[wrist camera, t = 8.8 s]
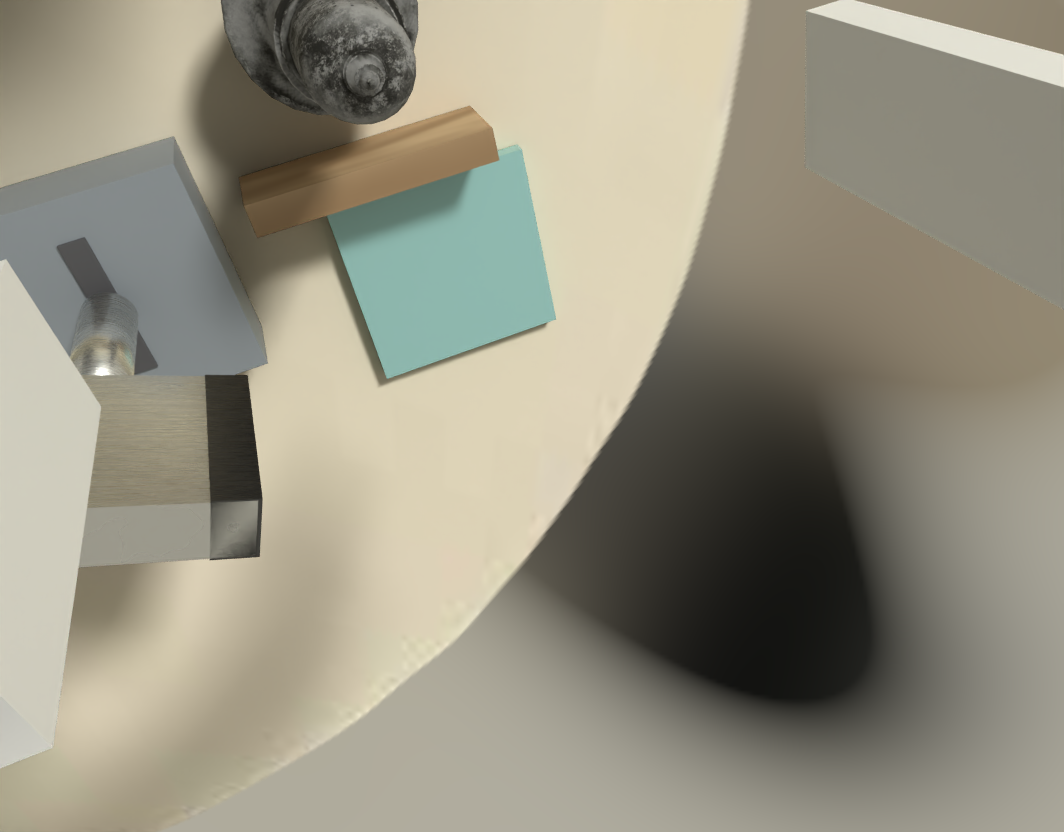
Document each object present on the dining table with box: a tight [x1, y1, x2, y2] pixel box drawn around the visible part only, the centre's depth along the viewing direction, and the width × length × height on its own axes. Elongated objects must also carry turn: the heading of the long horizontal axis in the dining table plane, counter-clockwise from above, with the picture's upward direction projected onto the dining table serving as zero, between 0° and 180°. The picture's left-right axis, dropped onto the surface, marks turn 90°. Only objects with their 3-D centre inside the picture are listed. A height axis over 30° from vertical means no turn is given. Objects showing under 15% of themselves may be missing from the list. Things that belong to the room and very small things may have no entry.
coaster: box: [327, 145, 556, 379], centre depth 35 cm, size 8×8×1 cm
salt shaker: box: [221, 0, 418, 124], centre depth 24 cm, size 6×6×12 cm
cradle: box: [239, 106, 499, 238], centre depth 27 cm, size 12×9×3 cm
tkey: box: [70, 292, 262, 567], centre depth 24 cm, size 8×2×11 cm, turn 79°
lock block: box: [0, 136, 268, 376], centre depth 30 cm, size 8×8×3 cm
